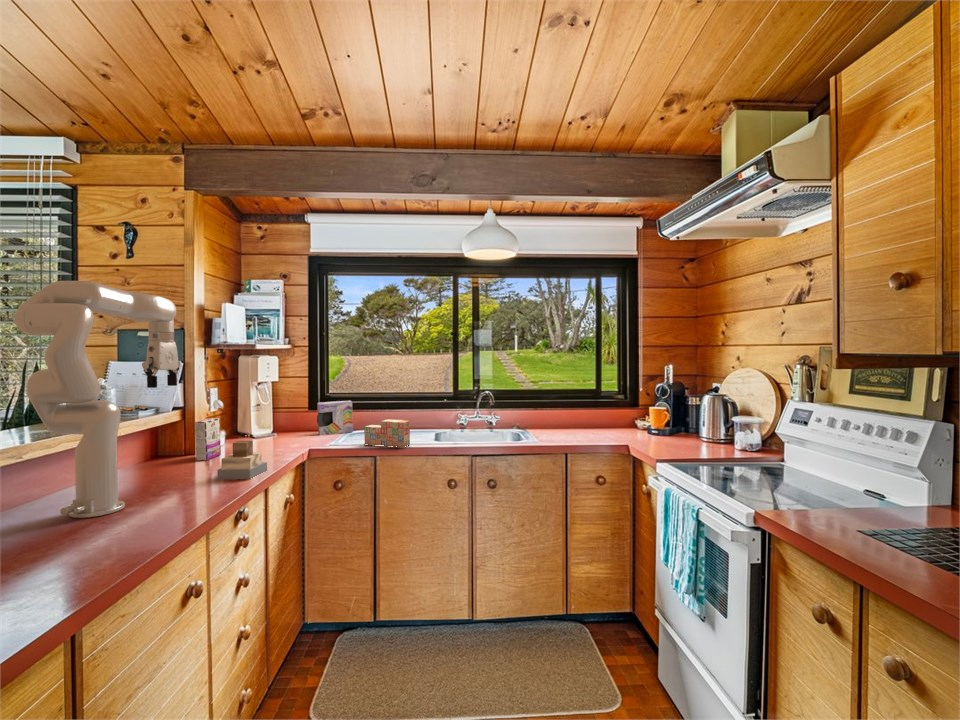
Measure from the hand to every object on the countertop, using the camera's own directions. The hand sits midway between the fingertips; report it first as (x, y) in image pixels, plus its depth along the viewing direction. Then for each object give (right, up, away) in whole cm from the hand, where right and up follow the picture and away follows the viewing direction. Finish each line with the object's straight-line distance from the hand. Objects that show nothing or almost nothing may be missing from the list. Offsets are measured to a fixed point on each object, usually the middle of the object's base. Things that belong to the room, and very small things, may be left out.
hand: (162, 386), depth 171 cm
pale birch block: (+24, -30, +8) cm, 39 cm away
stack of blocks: (+67, -32, +62) cm, 97 cm away
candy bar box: (-5, -33, +38) cm, 51 cm away
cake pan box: (+31, -32, +99) cm, 108 cm away
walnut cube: (+24, -26, +8) cm, 36 cm away
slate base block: (+24, -34, +8) cm, 42 cm away
